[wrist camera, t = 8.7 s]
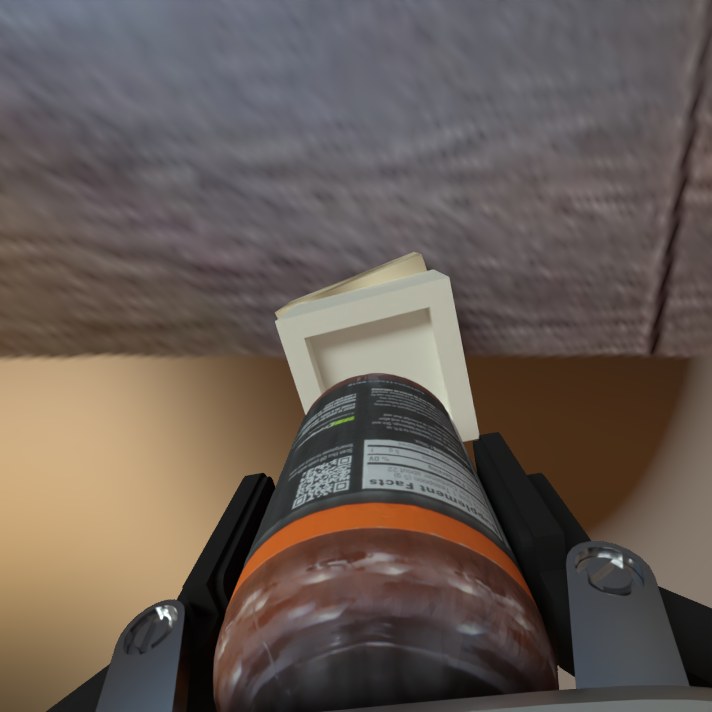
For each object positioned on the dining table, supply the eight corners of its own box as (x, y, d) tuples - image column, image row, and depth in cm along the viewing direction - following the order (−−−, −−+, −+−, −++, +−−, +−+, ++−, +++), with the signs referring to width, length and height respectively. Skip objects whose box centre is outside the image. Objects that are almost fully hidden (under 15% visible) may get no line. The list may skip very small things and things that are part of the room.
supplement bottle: (392, 529, 16) (428, 1165, 5) (272, 453, 15) (0, 1004, 4) (489, 426, 14) (855, 1025, 3) (360, 335, 13) (289, 727, 3)
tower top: (433, 269, 23) (449, 277, 18) (459, 400, 26) (479, 438, 21) (295, 305, 24) (274, 321, 19) (333, 427, 27) (323, 469, 22)
